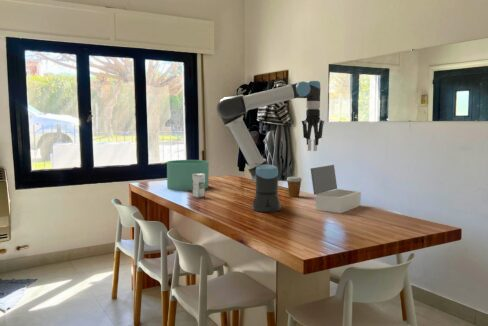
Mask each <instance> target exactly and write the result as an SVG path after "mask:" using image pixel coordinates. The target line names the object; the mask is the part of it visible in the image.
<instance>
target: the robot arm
mask: <svg viewBox="0 0 488 326" xmlns="http://www.w3.org/2000/svg"><path fill="white" fill-rule="evenodd" d="M321 90H322V89H321V82H320V81H319V80H308V81H298V82H295V83H291V84H290V83H289V84H286V85H283V86H280V87H275V88H272V89H271V88H270V89H267V90H263V91H259V92H254V93H251V94H248V95H247V94H246V95H244V94H237V95H233V96H224V97H222V98H221V99H220V100H219V101H218V102H217V105H216V112H217V114H218V116H219V118H221V121H222V122H223V125H224V126H226V127H228V128H229V130H230V132H231V133H232V135H233V138H234V139H235V141H236V143H237V145H238V147H239V149H240V151H241V153H242V155H243V157H244V159H245V160H246V163H247V164H248V166H247V170H248V172H249V174H250V176H251V179H252V181H253V182H254V183H255V196H254V199H253V203H252V205H251V206H252V207H251V208H252V210H253V211H256V212H261V213H270V212H271V213H274V212H275V213H276V212H279V211H281V209H282V208H281V203H280V199H279V196H278V194H279V193H278V188H279V187H278V185H279V184H278V183H279V181H278V179H279V168H278V167H277V166H276V165H274V164H273V165H272V164H269V162H268V161H267V159H266V158H263V156H262V155H261V153H260V150H259V149H258V147H257V145H256V143H255V141H254V139H253V137H252V135H251V133H250V132H249V129H248V128H247V125H246V124H245V121H244V120H243V119H244V114H247V112H248V111H249V110H254V109H259V108H262V107H266V106H269V105H273V104H278V103H282V102H285V101H290V100H294V99H306V110H305V111H306V114H305V115H306V118H305V119H304V120H301V124H302V133H303V134H302V135H303V136H302V137H303V138H304V139H306V146H307V151H308V152H310V151H313V152H317V151H318V145H319V139H322V138H323V132H324V131H323V129H324V124H325V120H322V119H321ZM312 128H313V132H314V139H313V150H312V139H311V134H312Z"/></svg>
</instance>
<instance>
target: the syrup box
mask: <svg viewBox="0 0 488 326" xmlns="http://www.w3.org/2000/svg"><path fill="white" fill-rule="evenodd" d="M191 191H192V192H191V193H192V195H191V197H192V198H197V199H199V198H204V197H205V196H206V193H205V192H206V189H205V174H202V173H197V174H192V190H191Z"/></svg>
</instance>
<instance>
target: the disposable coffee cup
mask: <svg viewBox="0 0 488 326" xmlns="http://www.w3.org/2000/svg"><path fill="white" fill-rule="evenodd" d="M302 180H303V179H302V177H301V176H288V177H287V179H286V181H287V190H288V197H290V198H298V197H300V192H301V184H302Z"/></svg>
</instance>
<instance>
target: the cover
mask: <svg viewBox="0 0 488 326" xmlns="http://www.w3.org/2000/svg"><path fill="white" fill-rule="evenodd" d="M310 175H311V176H310V177H311V183H312V190H313V195H318V194H322V193H325V192H329V191H333V190H336V189H338V184H337V177H336V169H335V165H334V164H331V165H325V166H319V167H312V168H310Z"/></svg>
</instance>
